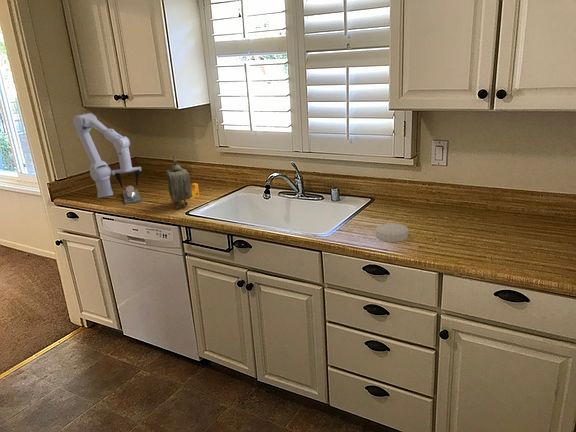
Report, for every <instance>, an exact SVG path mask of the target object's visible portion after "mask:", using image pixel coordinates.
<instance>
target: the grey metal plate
mask: <svg viewBox="0 0 576 432" xmlns="http://www.w3.org/2000/svg"><path fill="white" fill-rule="evenodd" d="M129 186H130V185H127V187H129ZM134 191H135V194H136V198H135V199H134V196H133V194H130V198H131V199H128V196H127V192H126V190H124V191H123V190H122V196H123V201H124V205H129V204H136V203H142V199H141V196H140V194H139V193H140V192H139V189H134Z"/></svg>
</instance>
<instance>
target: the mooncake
mask: <svg viewBox="0 0 576 432" xmlns="http://www.w3.org/2000/svg"><path fill="white" fill-rule="evenodd" d="M375 237H376V238H377V239H378V240H380V241H383V242H388V243H390V242H393V243H395V242H401V241H405V240H407V238H409V228H408V227H407V226H406V225H404V224H401V223H396V222H388V223H382V224H380V225H378V226H376V227H375Z"/></svg>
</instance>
